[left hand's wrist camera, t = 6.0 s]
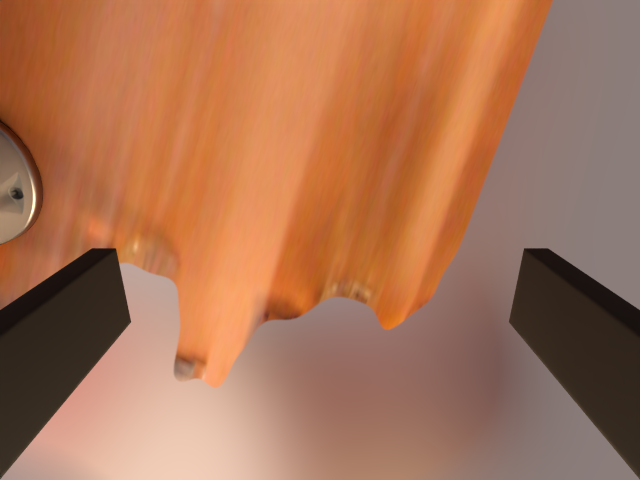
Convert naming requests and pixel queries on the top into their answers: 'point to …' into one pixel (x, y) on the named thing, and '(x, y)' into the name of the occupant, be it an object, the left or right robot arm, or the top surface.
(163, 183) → the top surface
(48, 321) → the left robot arm
